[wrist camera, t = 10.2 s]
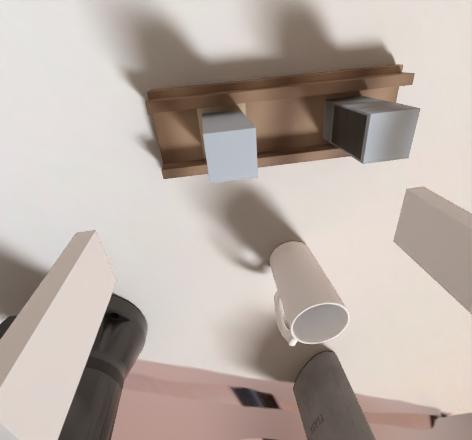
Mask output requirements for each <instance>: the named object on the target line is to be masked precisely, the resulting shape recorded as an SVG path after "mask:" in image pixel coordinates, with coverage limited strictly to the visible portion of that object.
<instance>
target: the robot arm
mask: <svg viewBox="0 0 472 440" xmlns="http://www.w3.org/2000/svg"><path fill="white" fill-rule="evenodd" d="M394 242H395V243H396V244H397V245H398V246H399V247H400V248H401V249H402V250H403V251H404V252H405V253H406V254H408V255H409V256H410V257H411V258H412V259H413V260H414V261H415V262H416V263H417V264H418V265H419V266H420V267H422V268H423V269H424V270H425V271H426V272H427V273H428V274H429V275H430V276H431V277H432V278H433V279H434V280H435V281H437V282H438V283H439V284H440V285H441V286H442V287H443V288H444V289H445V290H446V291H447V292H448V293H449V294H451V295H452V296H453V297H454V298H455V299H456V300H457V301H458V302H459V303H460V304H461V305H462V306H463V307H465V308H466V309H467V310H468V311H469V312H470V313H471V314H472V214H471V213H469V212H468V211H466V210H464V209H462V208H460V207H459V206H457V205H455V204H453V203H452V202H450V201H448V200H446V199H444V198H443V197H441V196H439V195H437V194H436V193H434V192H432V191H430V190H428V189H427V188H425V187H417V188H410V189H406V193H405V197H404V201H403V205H402V209H401V213H400V217H399V221H398V225H397V229H396V233H395V237H394ZM116 282H117V280H116V278H115V275H114V273H113V271H112V268H111V266H110V263H109V261H108V258H107V256H106V254H105V251H104V249H103V246H102V244H101V242H100V239H99V237H98V234H97V232H96V230H94V231H86V232H79V233H76V234H75V235H74V237H73V238H72V240H71V241H70V243H69V244H68V245H67V247H66V248H65V250H64V251H63V252H62V254H61V255H60V257H59V258H58V259H57V261H56V262H55V264H54V265H53V266H52V268H51V269H50V271H49V272H48V273H47V275H46V276H45V278H44V279H43V280H42V282H41V283H40V285H39V286H38V287H37V289H36V290H35V292H34V293H33V295H32V296H31V297H30V299H29V300H28V302H27V303H26V304H25V306H24V307H23V309H22V310H21V311H20V313H19V314H18V315H17V316H10V317H8V318H7V319H6V320H4V321H3V322H2V323H1V324H0V440H111V436H112V432H113V427H114V423H115V419H116V414H117V409H118V405H119V401H120V397H121V392H122V388H123V384H124V380H125V378H126V377H127V375H128V373H129V371H130V370H131V368H132V366H133V365H134V363H135V361H136V359H137V358H138V356H139V354H140V353H141V351H142V349H143V347H144V344H145V340H146V335H147V322H146V319H145V317H144V316H143V314H142V313H141V312H140V311H139V310H138V309H137V308H136V307H135V306H134V305H132V304H131V303H129V302H128V301H126V300H124V299H121V298H119V297H116V296H113V295H112V293H113V290H114V287H115V285H116Z"/></svg>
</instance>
